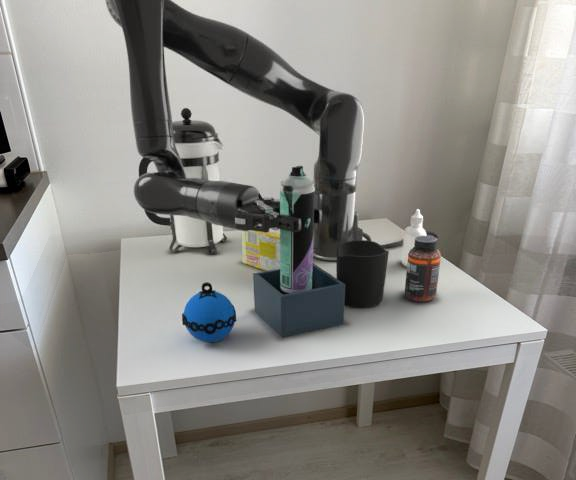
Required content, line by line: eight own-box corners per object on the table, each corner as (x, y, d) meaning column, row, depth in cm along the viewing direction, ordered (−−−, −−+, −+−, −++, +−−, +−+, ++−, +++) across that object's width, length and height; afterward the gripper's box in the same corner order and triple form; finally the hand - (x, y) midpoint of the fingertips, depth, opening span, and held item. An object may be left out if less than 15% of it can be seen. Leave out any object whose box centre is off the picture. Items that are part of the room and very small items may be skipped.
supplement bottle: (437, 292, 109) (445, 235, 103) (433, 304, 104) (441, 245, 98) (406, 289, 111) (412, 232, 105) (401, 300, 106) (407, 241, 100)
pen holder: (390, 294, 108) (394, 243, 103) (376, 313, 101) (380, 259, 96) (344, 287, 112) (346, 237, 107) (327, 304, 104) (329, 252, 99)
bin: (312, 299, 107) (312, 262, 103) (343, 324, 97) (345, 284, 94) (254, 311, 102) (252, 273, 99) (281, 337, 93) (280, 297, 89)
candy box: (300, 278, 116) (300, 239, 112) (293, 281, 115) (292, 241, 110) (248, 260, 126) (246, 223, 121) (241, 262, 125) (239, 225, 120)
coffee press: (212, 232, 144) (201, 102, 128) (240, 249, 132) (232, 108, 117) (147, 244, 137) (127, 107, 121) (171, 263, 125) (152, 114, 109)
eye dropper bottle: (402, 269, 120) (408, 213, 114) (400, 260, 125) (406, 206, 118) (423, 270, 120) (430, 213, 113) (420, 261, 124) (427, 206, 118)
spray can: (309, 295, 94) (312, 170, 84) (277, 292, 95) (276, 168, 85) (314, 283, 99) (317, 163, 88) (284, 280, 100) (283, 162, 89)
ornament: (235, 326, 97) (231, 271, 92) (239, 349, 90) (235, 291, 84) (185, 330, 96) (178, 275, 91) (185, 354, 89) (178, 295, 83)
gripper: (199, 190, 91) (284, 206, 82) (253, 175, 101) (334, 188, 92) (202, 236, 95) (284, 256, 86) (255, 217, 105) (332, 233, 96)
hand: (310, 220), depth 89 cm, fingers closed on spray can, 5 cm apart
